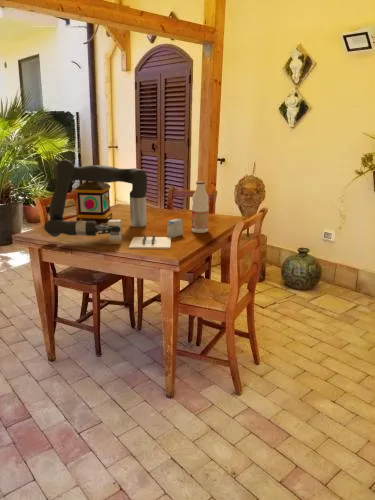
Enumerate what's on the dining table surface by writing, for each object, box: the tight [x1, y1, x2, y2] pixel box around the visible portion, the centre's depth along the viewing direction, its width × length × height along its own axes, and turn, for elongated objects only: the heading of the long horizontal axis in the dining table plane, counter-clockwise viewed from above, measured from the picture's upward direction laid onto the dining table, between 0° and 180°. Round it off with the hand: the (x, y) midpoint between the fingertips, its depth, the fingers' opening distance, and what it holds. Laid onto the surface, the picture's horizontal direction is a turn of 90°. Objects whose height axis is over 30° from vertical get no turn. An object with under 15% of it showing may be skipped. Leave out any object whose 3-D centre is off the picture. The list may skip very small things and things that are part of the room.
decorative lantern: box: [74, 181, 113, 224], centre depth 250 cm, size 20×20×30 cm
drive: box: [107, 219, 123, 242], centre depth 205 cm, size 4×6×10 cm
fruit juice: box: [191, 180, 210, 234], centre depth 229 cm, size 9×9×28 cm
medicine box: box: [166, 218, 184, 239], centre depth 222 cm, size 8×4×9 cm, turn 141°
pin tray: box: [128, 234, 172, 250], centre depth 208 cm, size 18×20×3 cm
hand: (120, 228), depth 205 cm, fingers closed on drive, 4 cm apart
